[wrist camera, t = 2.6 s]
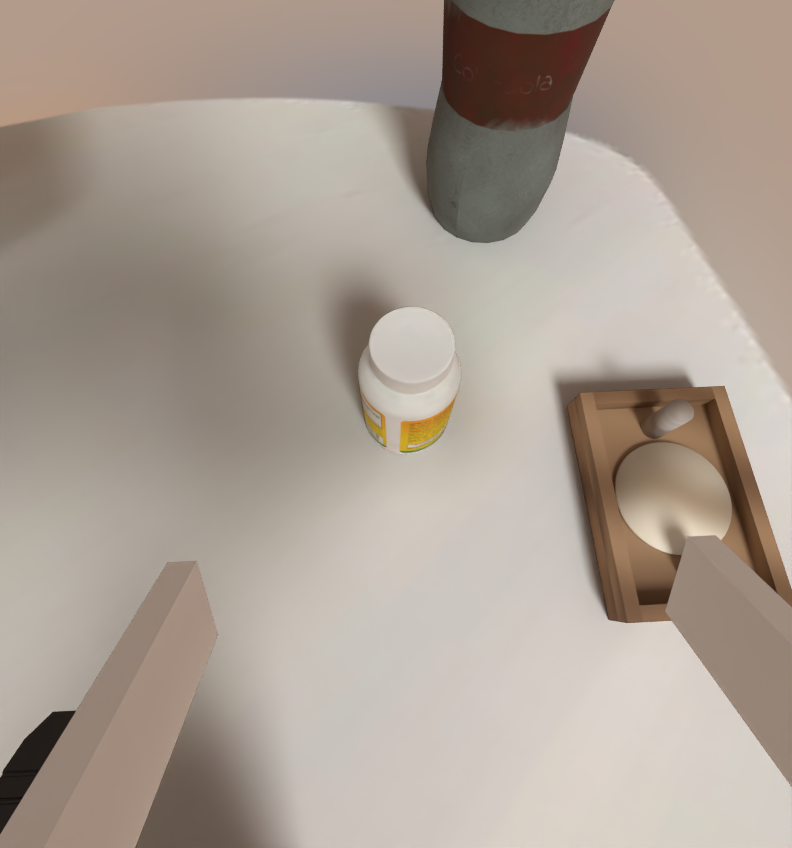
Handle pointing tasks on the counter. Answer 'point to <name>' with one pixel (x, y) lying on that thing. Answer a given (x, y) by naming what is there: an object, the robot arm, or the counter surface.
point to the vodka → (504, 108)
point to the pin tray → (666, 491)
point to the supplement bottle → (409, 379)
